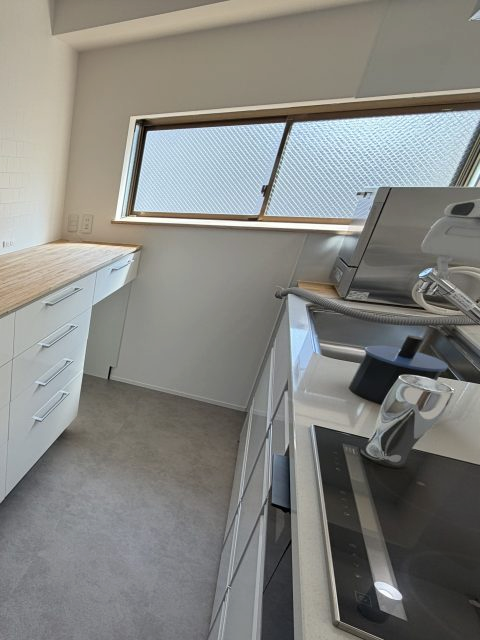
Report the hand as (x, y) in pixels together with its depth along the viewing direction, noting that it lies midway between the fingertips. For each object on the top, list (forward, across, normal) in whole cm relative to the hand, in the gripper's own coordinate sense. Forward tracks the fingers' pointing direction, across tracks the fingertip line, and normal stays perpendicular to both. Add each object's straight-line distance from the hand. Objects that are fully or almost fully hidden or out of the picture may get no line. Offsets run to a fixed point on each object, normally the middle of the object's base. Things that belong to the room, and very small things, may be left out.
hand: (470, 284), depth 82 cm
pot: (+27, +3, +1) cm, 27 cm away
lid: (+17, +3, +1) cm, 18 cm away
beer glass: (+27, -15, +31) cm, 44 cm away
